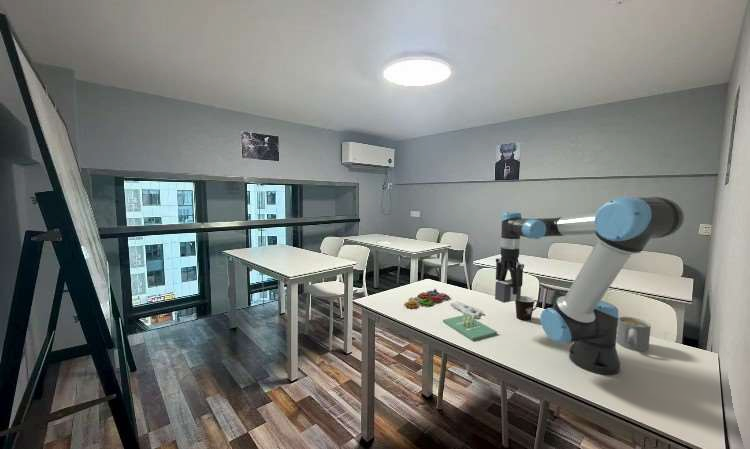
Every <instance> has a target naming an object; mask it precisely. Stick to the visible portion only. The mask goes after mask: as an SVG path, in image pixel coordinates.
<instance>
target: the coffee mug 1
mask: <svg viewBox="0 0 750 449" xmlns="http://www.w3.org/2000/svg"><path fill="white" fill-rule="evenodd" d="M514 302H515V303H514V304H515V315H516V319H517V320H520V321H521V322H529V321H531V320H532V316H533V312H534V311H535V310H536V309H537V308H538V306H539V305H540V303H539V301H538V300H535V299H534V298H533V297H530V296H525V295H521V298H520V300H516V301H514ZM535 302H536V306H535ZM534 306H535V307H534Z"/></svg>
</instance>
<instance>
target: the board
mask: <svg viewBox="0 0 750 449" xmlns="http://www.w3.org/2000/svg"><path fill="white" fill-rule="evenodd" d="M474 317H475V316H472V318H471V317H469V316H467V315H464V314H463V315H458V316H455V317H450V318H444V319H442V323H444V324H445V325H447V327H449V328H451V329H453V330H454V331H456V332H458V333H459V334H461V335H463V337H466V338H467V339H468V340H470V341H473V342H474V341H476V340H481V339H484V338H489V337H492V336H496V335H498V331H497V330H495V329H493V328H491V327H489V326H487V325H486V324H483V323H482V322H480V321H478V320H477V319H476V318H474Z"/></svg>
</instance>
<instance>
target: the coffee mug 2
mask: <svg viewBox="0 0 750 449" xmlns="http://www.w3.org/2000/svg"><path fill="white" fill-rule="evenodd" d="M618 317H619V319H618V326H617V337H616V344H618V345H619V346H620V347H622V348H625V349H627V350H631V351H634V352H640V353H641V352H648V351H649V348H650V346H649V345H650V339H651V338H650V337H651V329H652V328H651V326H652V325H651V324H650V322H648V321H646V320H643V319H641V318H636V317H631V316H618Z"/></svg>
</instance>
